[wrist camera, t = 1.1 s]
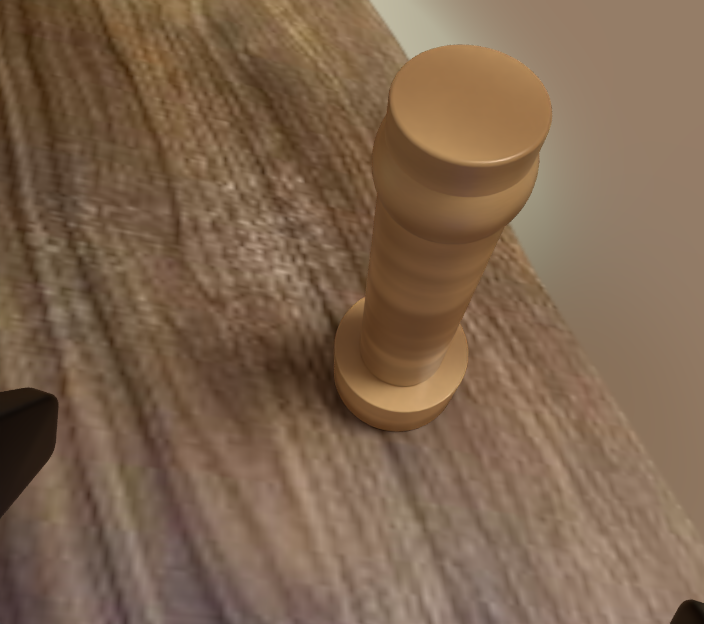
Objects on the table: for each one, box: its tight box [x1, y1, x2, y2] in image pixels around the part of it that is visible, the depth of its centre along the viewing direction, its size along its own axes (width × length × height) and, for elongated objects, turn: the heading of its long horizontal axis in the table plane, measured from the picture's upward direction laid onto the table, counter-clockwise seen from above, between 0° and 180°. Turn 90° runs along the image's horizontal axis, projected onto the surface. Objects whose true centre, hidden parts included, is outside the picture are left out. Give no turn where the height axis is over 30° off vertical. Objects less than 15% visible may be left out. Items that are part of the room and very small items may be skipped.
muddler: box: [334, 45, 552, 431], centre depth 17 cm, size 5×5×14 cm
